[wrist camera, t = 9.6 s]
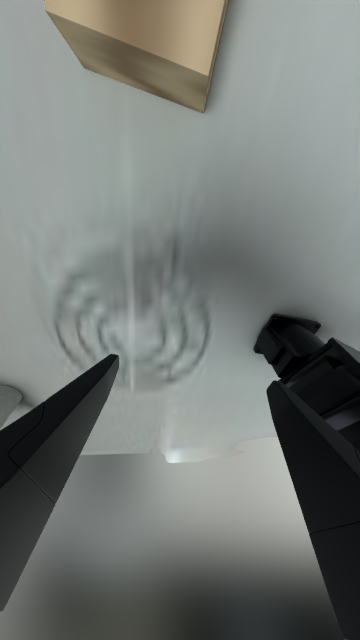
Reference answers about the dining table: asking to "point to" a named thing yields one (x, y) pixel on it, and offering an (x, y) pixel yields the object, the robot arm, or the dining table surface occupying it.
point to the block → (146, 42)
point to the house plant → (8, 402)
